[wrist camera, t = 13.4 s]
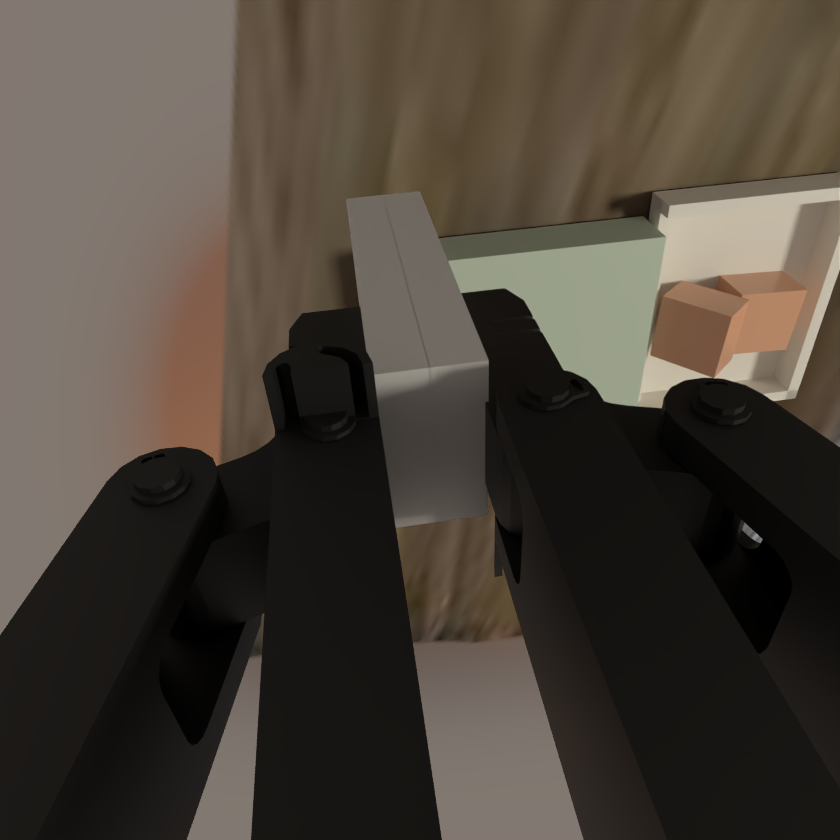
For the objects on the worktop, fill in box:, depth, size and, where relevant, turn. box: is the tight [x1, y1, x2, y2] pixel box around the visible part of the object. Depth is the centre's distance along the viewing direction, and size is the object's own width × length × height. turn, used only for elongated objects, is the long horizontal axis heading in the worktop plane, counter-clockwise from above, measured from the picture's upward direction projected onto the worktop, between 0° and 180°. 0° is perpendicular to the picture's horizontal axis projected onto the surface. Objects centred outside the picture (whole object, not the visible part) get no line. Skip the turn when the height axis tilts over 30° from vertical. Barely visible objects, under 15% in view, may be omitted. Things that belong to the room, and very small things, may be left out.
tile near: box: [650, 280, 750, 378], centre depth 45 cm, size 4×4×3 cm
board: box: [439, 216, 666, 406], centre depth 45 cm, size 13×16×4 cm
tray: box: [637, 172, 840, 408], centre depth 46 cm, size 16×13×2 cm
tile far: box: [716, 271, 808, 354], centre depth 46 cm, size 4×4×3 cm
